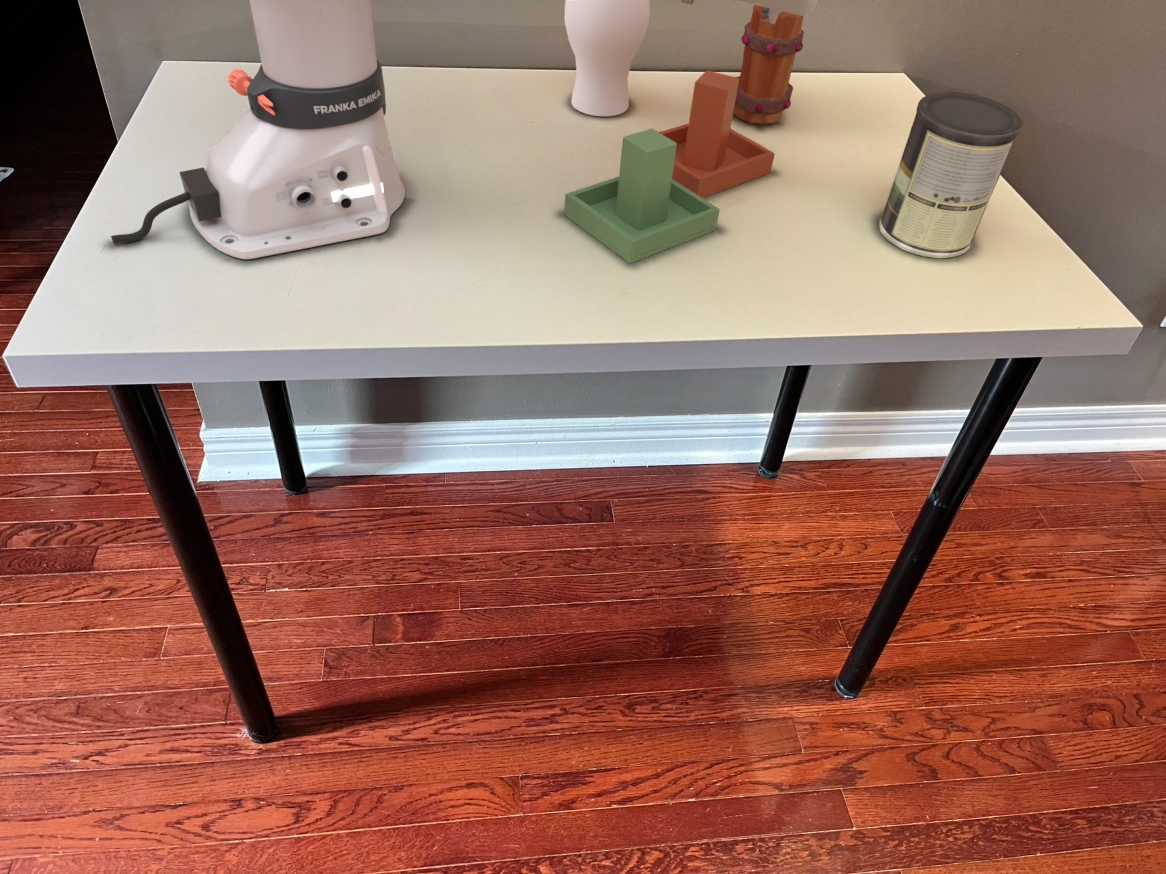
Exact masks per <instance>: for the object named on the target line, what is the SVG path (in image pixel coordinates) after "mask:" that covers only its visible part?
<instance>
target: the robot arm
mask: <svg viewBox="0 0 1166 874" xmlns="http://www.w3.org/2000/svg"><path fill="white" fill-rule="evenodd" d="M248 1H249V7H250V11H251V16H252V21H253V27H254V31H255V37H256V41H257V42H256V43H257V48H258V51H259V56H260V57H259V58H260V62H261V64H260V66H259V68H258V71H257V73H256V74H255V76H254V77H253V78H252V77H251V76H250V75H248V73H247V72H245V71H244V70H243V69H239V68H237V69H236V68H235V69H233V70H232V71H230V72H229V75H228V76H227V79H228V80H227V82H228V83H229V86H230V88H232V89H233V90H234V91H235V92H236V93H237V94H238V95H240V96H245V97H246V96H247V99H248V104H249V108H250V109H248V111H246V113H245V114H244V115H242V117H241V118H240V119H239V120H238V121H237V122H236V123H235V124H234V126H233V127H232V128H231V129H230V130H229V131H228V132H227V133H226V134H225V135H224V136H223V137H222V138H221V139H220V140H219V141H218V142H216V144H215V145H214V146H212V148H211V149H210V150H209V152H208V153H207V156H206V157H207V158H206V163H205V168H204V167H199V168H198V167H197V168H193V169H188V170H184V171H179V176H180V179H181V183H182V187H183V190H184V192H183V193H180V194H178V195H176V196H173V197H171V198H168V199H167V200H163V201H162V202H159V203H158V204H156V205H154V207H152V208H151V209H150V210H148V212H147V213H146V214H145V216H144V218H143V222H142V226H141V227H140V229H138V230H137V231H134V232H132V233H125V234H123V233H121V234H114V235H111V236H110V238H111V240H112V243H113V245H115V244H123V243H132V242H138V241H139V240H142V239H144V238H145V237H147V236H148V235H149V234H150V232H151V230H152V226H153V223H154V220H155V219H156V218H157V217H158V216H159V215H161V214H162V213H164V212H165V211H167V210H168V209H171V208H173V207H176V206H178V205H181V204H183V203H185V202H188V204H189V205H188V208H189V214H190V215H189V216H190V218H191V222H192V223H193V225H194V228H195V229H196V230H197V232H198V233H199V235H200V236H202V238H203V239H204V240H205V241H206V242H208V244H209V245H211V246H212V247H213V248H216V250H218V251H219V252H222V253H224V254H225V255H228V256H231V257H233V258H237V259H241V260H252V259H259V258H264V257H268V256H274V255H279V254H283V253H289V252H294V251H299V250H304V249H308V248H315V247H319V246H325V245H331V244H334V243H335V244H336V243H340V242H345V241H351V240H356V239H360V238H365V237H366V238H367V237H371V236H376V235H381V234H383V233H385V232H387V230H388V229H389V226H390V221H391V217H392V215H393V214H394V213H395V212H396V211H398V209H399V208H400V207H401V205H402V204H403V202H404V200H405V198H406V188H405V185H404V183H403V181H402V178H401V176H400V173H399V171H398V168H397V164H396V162H395V159H394V155H393V152H392V148H391V147H392V146H391V144H390V138H389V134H388V129H387V125H386V124H387V123H386V118H385V116H386V113H387V102H386V87H385V81H384V75H383V66H382V64H381V63H380V61H379V59H378V58H377V47H376V39H375V27H374V17H373V9H372V8H373V7H372V0H248ZM734 1H736V2H739V3H745V4H749V5H752V6H754V5H757V6H761V7H763V8H762V11H761V13H760V16H761V21H763V22H767V23H771V24H775V22H776V20H777V17H778V14H780V13H781V12H782V11H783V12H787V13H792V14H796V15H800V16H804V17H806V16H809V15H810V14H813V13H814V11H816V8H817V6H818V3H819V0H734ZM678 2H679V3H682V4H687V5H693V3H694V2H695V1H694V0H678Z"/></svg>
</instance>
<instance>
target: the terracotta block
mask: <svg viewBox="0 0 1166 874" xmlns="http://www.w3.org/2000/svg"><path fill="white" fill-rule="evenodd" d="M736 77H737V76H732V75H728V74H724V73H721V72H720V73H719V72H715V71H712V70H708V69H707V70H705V72H704V73H703V74H702V75H700V77H698V78H697V79H696V81H694V86H693V92H692V98H691V99H692V101H691V106H690V112H689V120H688V123H689V126H688V132H687V139H686V145H685V152H684V159H683V164H684V165H687V166H691V167H695V168H698V169H702V170H705V171H709V172H712V171H715V170H716V169H717V168H718V167H719V165H720V164H721V163H722V162H723V160H724V159H725V153H726V148H727V143H728V137H729V132H730V129H731V127H732V120H733V116H734V105H735V100H736V94H737V89H738V84H739V78H736Z"/></svg>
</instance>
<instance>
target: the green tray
mask: <svg viewBox="0 0 1166 874" xmlns="http://www.w3.org/2000/svg"><path fill="white" fill-rule="evenodd" d="M618 183H619V175H618V176H616V177H613V178H609V179H606V180H604V181H600V182H596V183H594V184H592V185H588V186H584V187H582V188H579V189H576V190H573V191H570V192H567V193H565V195H564V211H563V212H564V216H565V217H566V218H568V219H569V220H570V221H572V222H573V223H574V224H576V225H577V226H579V227H580V228H581V229H583V230H584V231H585V232H587V234H589V235H591V236H592V237H593V238H594V239H596V240H598V242H600V243H601V244H602V245H604V246H606V247H607V248H608V249H610V250H611V251H612V252H613V253H614V254H616V255H618V256H619V257H621V259H623V260H624V261H625V262H627V263H628V264H630V265H631V264H633V263H636V262H638V261H641V260H644V259H646V258H648V257H651V256H653V255H656V254H658V253H661V252H664V251H666V250H669V249H671V248H673V247H677V246H679V245H681V244H684V243H686V242H689V241H691V240H694V239H697V238H699V237H703V236H705V235H707V234H709V233H712V232H714V231H717V227H718V220H719V216H720V208H719V207H717V206H716V205H714V204H712V203H711V202H709V201H708V200H706V199H705V198H704V197H703V198H701V197H700V196H698V195H697V194H695V193H693V192H692V191H690V190H689V189H687V188H686V187H684V186H682V185H681V184H679V183H678V182H676V181H675V180H673V179H672V181H671V188H670V195H669V202H668V209H667V216H666V221H663V222H661V223H658V224H655V225H653V226H650V227H647V228H645V229H642V230H639V231H638V230H637V229H635V228H634V227H633V226H631V225H630V224H628V223H627V222H625V221H624V220H623V219H621V218H620V217H618V216H617V215H616V204H617V193H618Z"/></svg>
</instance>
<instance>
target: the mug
mask: <svg viewBox="0 0 1166 874" xmlns="http://www.w3.org/2000/svg"><path fill="white" fill-rule="evenodd" d="M762 8H763V7H761V6H757V5H752V13H751V17H750V21H749V22H748V23H746V24H745V25H744V31H743V35H742V36H741V39H740V40H741V42H742V44H743V45H744V47H743V55H742V56H743V57H742V63H741V69H740V75H739V76H735V77H736V78H739V84H738V89H737V94H736V100H735V105H734V111H733V115H734V116H736V118H738V119H740V120H741V121H744V122H746V123H749V124H753V125H755V124H757V125H766V124H773V123H776V122H778V121H779V119H780V118H781V116H782V112H784V111H785V110H787V109H789V108H790V107H791V105H792V101H791V99H792V94H793V91H794V86H793V85H792V84H791V83H790V79H791V74H792V70H793V67H794V62H795V59H796V54H797V53H799V52H801V51H802V49H803V48H804V43H803V39H804V34H805V31H804V30H803V29H802V26H803V22H804V17H805V16H800V15H796V14H792V13H787V12H783V11H782V12H781V13H780V14H778V17H777V20H776V22H775V24H771V23H767V22H763V21H761V16H760V13H761V11H762Z"/></svg>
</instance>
